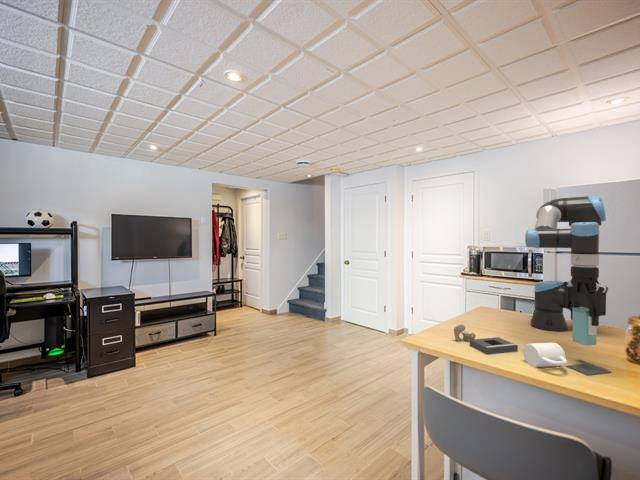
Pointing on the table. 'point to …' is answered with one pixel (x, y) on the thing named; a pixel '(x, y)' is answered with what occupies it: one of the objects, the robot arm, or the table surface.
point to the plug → (582, 327)
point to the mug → (544, 354)
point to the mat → (588, 368)
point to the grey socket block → (493, 345)
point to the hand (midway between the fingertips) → (584, 332)
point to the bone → (465, 334)
